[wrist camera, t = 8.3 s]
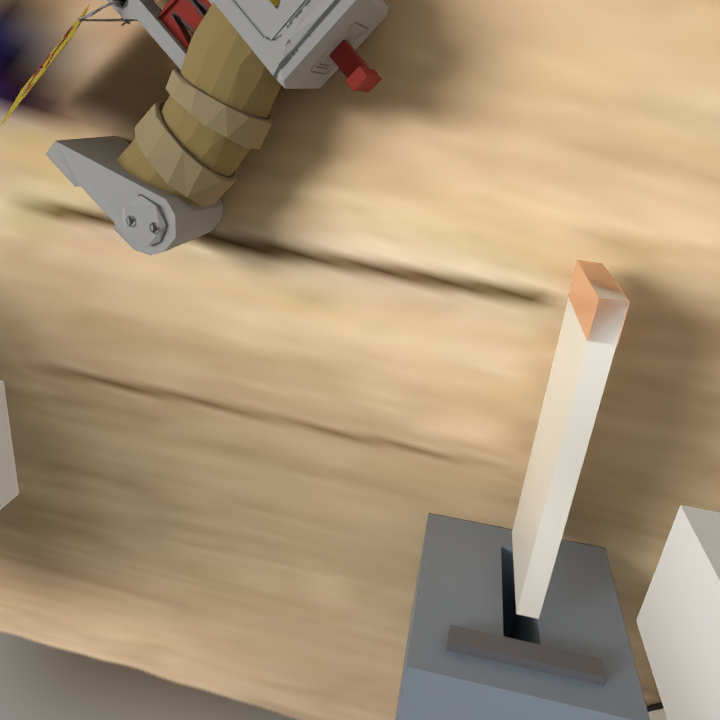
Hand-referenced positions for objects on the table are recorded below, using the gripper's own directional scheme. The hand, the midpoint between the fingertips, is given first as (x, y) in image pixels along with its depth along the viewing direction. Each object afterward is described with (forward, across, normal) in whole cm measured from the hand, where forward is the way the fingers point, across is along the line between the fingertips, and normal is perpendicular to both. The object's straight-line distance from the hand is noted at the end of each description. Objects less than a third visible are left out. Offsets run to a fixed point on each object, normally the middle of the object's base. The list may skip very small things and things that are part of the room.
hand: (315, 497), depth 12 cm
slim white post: (+24, +9, -9) cm, 27 cm away
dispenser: (+26, +9, -24) cm, 37 cm away
